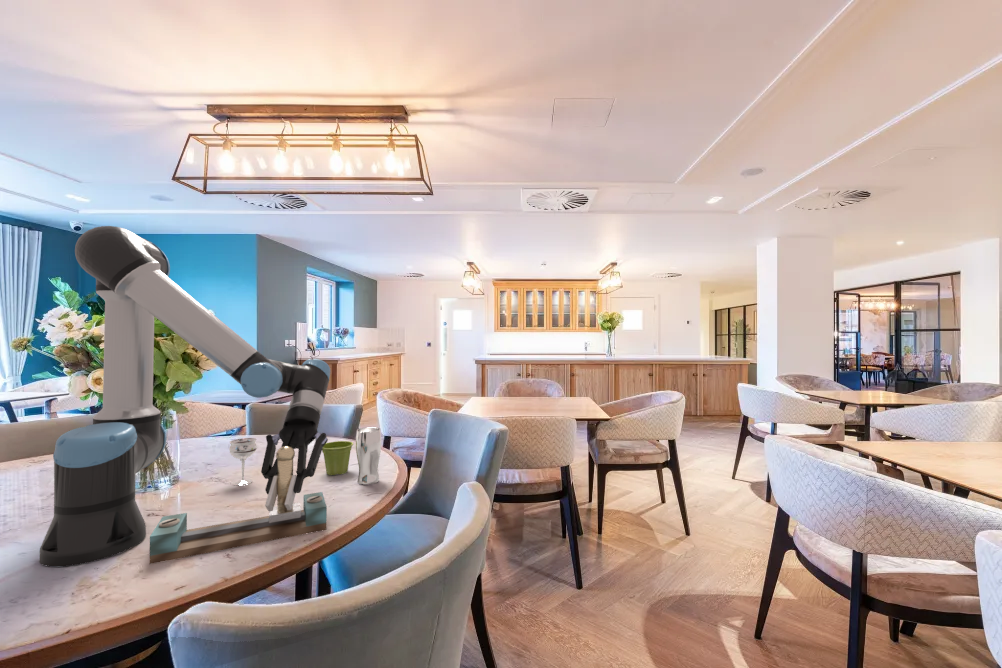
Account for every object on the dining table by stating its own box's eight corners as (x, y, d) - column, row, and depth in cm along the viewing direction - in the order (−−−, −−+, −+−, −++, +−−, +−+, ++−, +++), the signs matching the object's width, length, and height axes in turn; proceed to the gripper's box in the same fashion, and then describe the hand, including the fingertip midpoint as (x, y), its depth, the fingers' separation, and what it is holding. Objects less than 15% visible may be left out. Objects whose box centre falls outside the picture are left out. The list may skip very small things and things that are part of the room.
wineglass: (226, 482, 122) (227, 440, 122) (253, 477, 127) (253, 436, 127) (231, 488, 117) (231, 444, 117) (259, 482, 122) (259, 440, 122)
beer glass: (365, 487, 118) (365, 433, 118) (350, 482, 122) (351, 429, 122) (386, 480, 124) (386, 428, 124) (371, 476, 128) (371, 426, 128)
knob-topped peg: (269, 523, 88) (269, 449, 89) (269, 514, 93) (269, 444, 93) (300, 517, 91) (301, 446, 91) (299, 509, 96) (300, 441, 96)
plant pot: (338, 479, 125) (338, 449, 125) (313, 475, 128) (313, 446, 128) (359, 470, 134) (359, 442, 134) (335, 466, 137) (335, 439, 137)
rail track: (149, 564, 78) (149, 533, 78) (162, 541, 86) (162, 513, 86) (326, 529, 92) (326, 503, 92) (322, 513, 100) (322, 489, 100)
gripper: (341, 421, 108) (322, 513, 91) (273, 423, 106) (242, 518, 89) (335, 403, 103) (315, 497, 86) (264, 405, 101) (230, 502, 84)
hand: (278, 507), depth 88 cm, fingers closed on knob-topped peg, 3 cm apart
